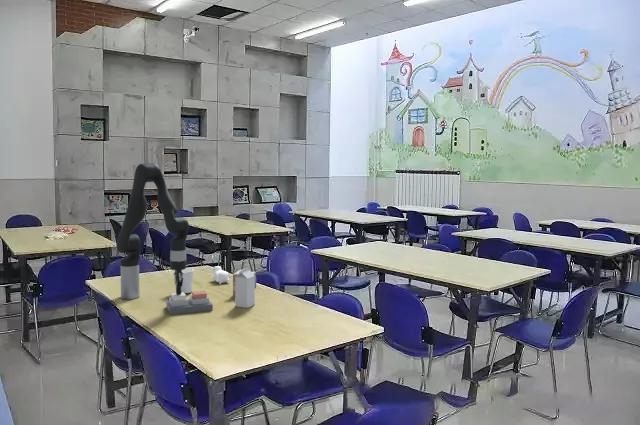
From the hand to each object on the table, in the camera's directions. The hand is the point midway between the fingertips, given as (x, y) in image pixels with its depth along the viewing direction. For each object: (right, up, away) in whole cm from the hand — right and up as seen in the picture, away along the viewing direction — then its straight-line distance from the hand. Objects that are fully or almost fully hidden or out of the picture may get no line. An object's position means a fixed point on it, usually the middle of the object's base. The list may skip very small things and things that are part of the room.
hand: (178, 294), depth 253 cm
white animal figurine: (+9, -2, +61) cm, 62 cm away
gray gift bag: (+27, -5, +39) cm, 47 cm away
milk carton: (+31, -8, +10) cm, 33 cm away
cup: (-6, -5, +33) cm, 34 cm away
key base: (+4, -8, +3) cm, 9 cm away
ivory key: (0, -3, 0) cm, 3 cm away
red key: (+9, -3, +4) cm, 10 cm away
